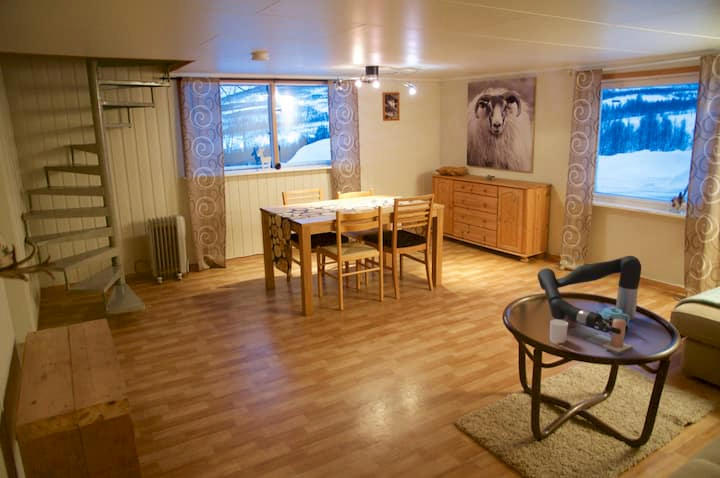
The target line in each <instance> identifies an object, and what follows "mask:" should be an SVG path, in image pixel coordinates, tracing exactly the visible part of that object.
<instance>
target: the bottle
mask: <svg viewBox="0 0 720 478" xmlns="http://www.w3.org/2000/svg"><path fill="white" fill-rule="evenodd" d="M626 322H627V320H626V321H625V320H623V319H613V326H612V327H614V328H617V329H620V330H621V334H616V333H613V332H611V335H610V336H611V337H610V338H611V346H613V347H617V348H622V347H623V344H624V343H625V334H626V330H625V326H626Z"/></svg>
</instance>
